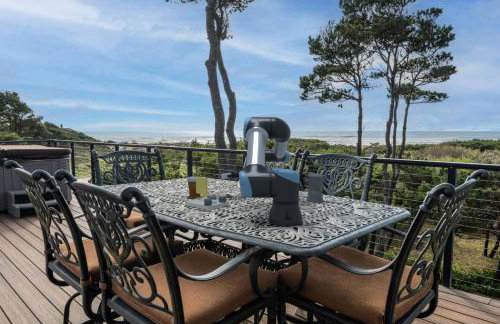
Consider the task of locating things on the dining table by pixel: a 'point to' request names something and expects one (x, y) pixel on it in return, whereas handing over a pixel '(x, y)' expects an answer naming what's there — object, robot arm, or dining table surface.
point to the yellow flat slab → (203, 188)
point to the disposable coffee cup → (192, 187)
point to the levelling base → (201, 204)
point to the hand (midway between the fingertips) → (222, 176)
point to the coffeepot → (314, 186)
